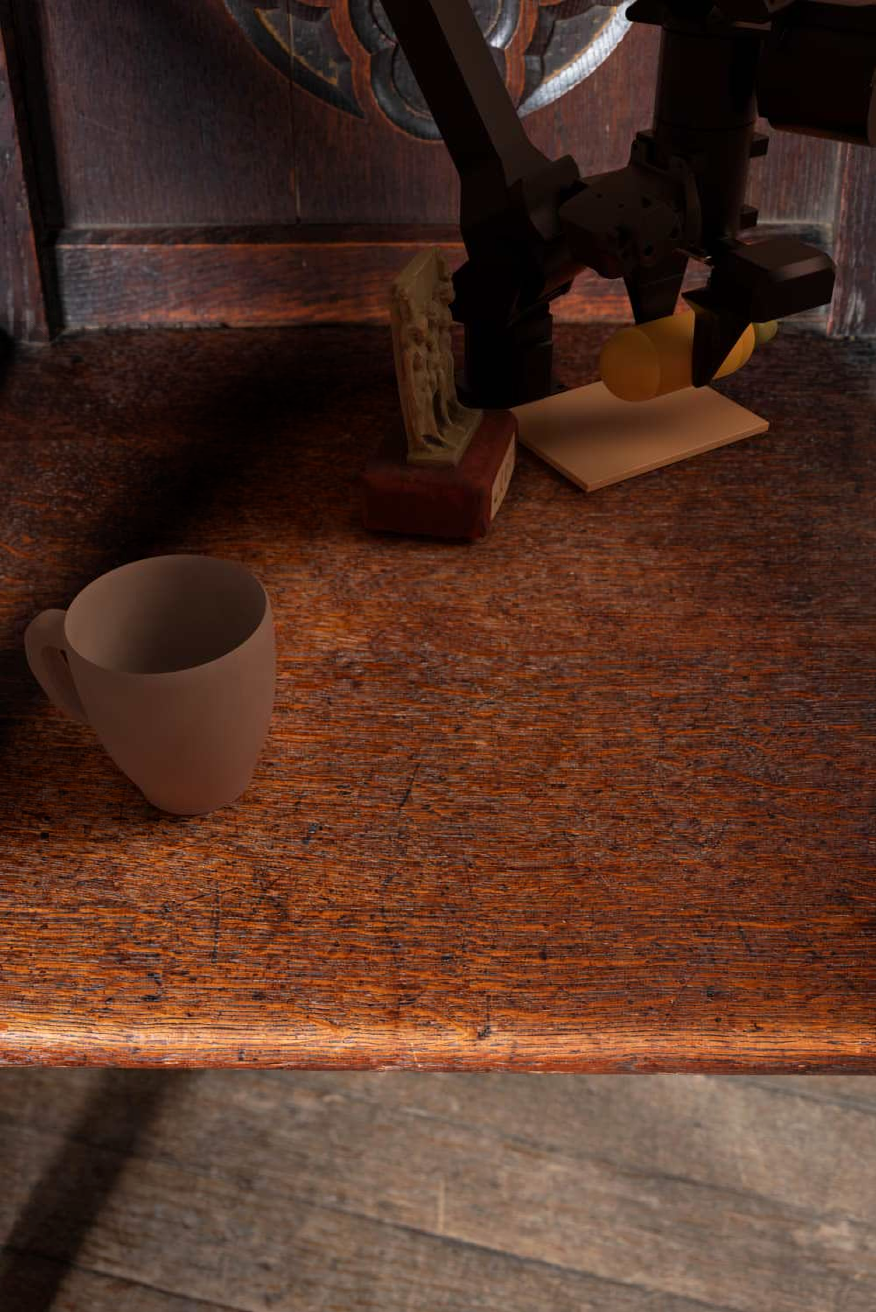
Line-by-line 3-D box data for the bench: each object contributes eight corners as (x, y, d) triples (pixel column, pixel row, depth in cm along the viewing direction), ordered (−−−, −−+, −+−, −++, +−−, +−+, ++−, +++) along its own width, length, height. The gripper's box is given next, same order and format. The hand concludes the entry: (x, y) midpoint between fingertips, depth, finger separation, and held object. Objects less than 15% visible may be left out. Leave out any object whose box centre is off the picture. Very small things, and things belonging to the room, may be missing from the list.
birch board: (491, 421, 86) (491, 413, 86) (664, 368, 92) (665, 361, 91) (586, 493, 78) (587, 484, 78) (768, 430, 84) (769, 422, 84)
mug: (319, 732, 61) (303, 570, 55) (242, 862, 55) (214, 695, 49) (102, 686, 64) (64, 528, 58) (5, 804, 58) (-49, 639, 52)
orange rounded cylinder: (744, 343, 86) (754, 278, 83) (791, 369, 83) (803, 302, 80) (582, 393, 80) (586, 325, 77) (626, 422, 77) (632, 352, 74)
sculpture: (493, 551, 74) (497, 306, 64) (359, 536, 75) (344, 295, 66) (520, 467, 81) (527, 237, 72) (398, 455, 82) (390, 228, 73)
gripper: (493, 99, 74) (490, 347, 84) (702, 189, 61) (669, 468, 71) (644, 71, 78) (624, 310, 88) (867, 149, 66) (815, 418, 75)
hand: (675, 371), depth 80 cm, fingers closed on orange rounded cylinder, 4 cm apart
